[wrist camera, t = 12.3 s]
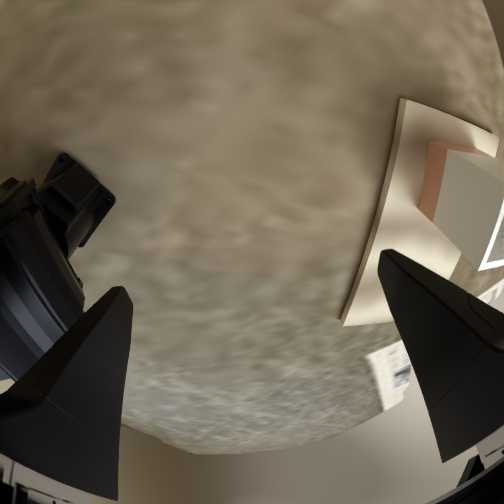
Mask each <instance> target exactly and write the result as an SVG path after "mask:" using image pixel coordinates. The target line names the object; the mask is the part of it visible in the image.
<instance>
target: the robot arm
mask: <svg viewBox="0 0 504 504" xmlns="http://www.w3.org/2000/svg"><path fill="white" fill-rule="evenodd" d="M61 158H63V159H64V162H63V161H62V159H61ZM35 186H36V184H35V181H34V178H32V179H30V180H28V181H26V180H24V181H22V182H21V181H18V180H16V179H15V178H13V177H11V178H9V179H7V180H6V181H5V182H3V183H2V184H0V381H1V380H6V379H10V378H11V379H12V380H13V381H14V382H15V383H14V384H13V385H12V386H11V387H10V388H9V389H8V390H7V391H5V392H4V393H2V394H0V504H91V500H92V495H96V496H99V497H103V498H106V499H110V500H114V501H118V463H119V450H118V449H119V439H120V425H121V414H122V404H123V395H124V386H125V378H126V371H127V364H128V358H129V351H130V344H131V330H132V317H133V304H132V301H131V299H130V297H129V295H128V293H127V291H126V289H125V288H124V287H123V286H115V287H112V288H111V289H110V290H109V291H108V292H107V293H105V294H104V295H103V296H102V297H101V298H100V299H99V300H98V301H97V302H96V303H95V304H94V305H93V306H92V307H91V308H90V309H89V310H87V311H86V312H85V313H84V311H83V307H84V300H85V296H84V293H83V290H82V288H83V283H82V282H81V280H80V278H78V277H77V275H76V274H75V272H74V270H73V268H72V266H71V264H70V263H69V261H68V260H69V258H70V257H71V255H72V254H73V252H74V251H75V250H76V248H77V247H83V246H84V245H85V244H86V242H87V241H88V239H89V238H90V236H91V235H92V234H93V232H94V231H95V229H96V228H97V227H98V225H99V224H100V222H101V221H102V220H103V218H104V217H105V216H106V214H107V213H108V212H109V210H110V209H111V208H112V206H113V205H114V204H115V202H116V199H115V197H114V195H112V194H111V193H110V192H109V191H108V190H107V189H105V188H104V187H103V186H102V185H101V184H100V183H99V181H98V180H97V179H96V178H94V177H93V176H92V175H91V174H90V173H89V172H88V171H87V170H85V169H84V168H83V167H82V166H81V165H80V164H77V163H76V162H75V161H74V160H73V159H72V158H70V157H69V156H68V155H67V154H66V153H61V154H60V155H58V157H57V158H56V160H55V162H54V164H53V166H52V167H51V169H50V171H49V173H48V175H47V177H46V179H45V181H44V183H43V185H42V186H40V187H39V188H38V189H37V190H36V188H35ZM108 199H110V200H111V202H109V201H108ZM81 242H82V243H81ZM377 273H378V277H379V280H380V283H381V285H382V288H383V291H384V294H385V297H386V301H387V304H388V307H389V309H390V312H391V315H392V317H393V319H394V322H395V324H396V326H397V329H398V331H399V333H400V336H401V338H402V341H403V343H404V345H405V348H406V351H407V353H408V356H409V358H410V361H411V363H412V366H413V369H414V371H415V374H416V377H417V380H418V382H419V385H420V388H421V391H422V394H423V397H424V400H425V403H426V406H427V409H428V412H429V416H430V420H431V423H432V426H433V430H434V434H435V437H436V440H437V445H438V448H439V452H440V456H441V460H442V463H444V462H446V461H448V460H450V459H452V458H454V457H456V456H457V455H459V454H461V453H463V452H465V451H466V450H468V449H470V448H471V447H473V446H475V445H476V446H477V450H478V452H479V454H477V455H476V456H474V457H473V458H471V459H469V460H468V463H467V465H466V467H465V470H464V472H463V474H462V477H461V479H460V481H459V483H458V485H457V487H456V488H455V489H453V490H451V491H450V492H448V493H446V494H444V495H442V496H440V497H439V498H436V499H434V500H432V501H430V502H428V503H426V504H504V313H502V312H500V311H498V310H497V309H495V308H493V307H491V306H490V305H488V304H486V303H485V302H483V301H481V300H480V299H478V298H476V297H475V296H473V295H472V294H470V293H467V291H465V290H464V289H462V288H460V287H459V286H457V285H455V284H454V283H452V282H450V281H449V280H447V279H445V278H444V277H442V276H440V275H439V274H437V273H435V272H433V271H432V270H430V269H428V268H426V267H425V266H423V265H421V264H419V263H418V262H416V261H414V260H412V259H410V258H409V257H407V256H405V255H403V254H401V253H399V252H398V251H396V250H394V249H384V250H382V251H381V252H380V256H379V262H378V268H377Z"/></svg>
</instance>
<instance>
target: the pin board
mask: <svg viewBox="0 0 504 504" xmlns="http://www.w3.org/2000/svg"><path fill="white" fill-rule="evenodd" d="M429 140H431V141H438V142H445V143H451V144H457V145H463V146H469V147H474V148H477V149H479V150H481V151H483V152H485V153H487V154H488V155H490V156H492V157H494V158H495V155H496V151H497V146H498V142H499V138H498V137H497V136H495V135H493V134H491V133H489V132H487V131H485V130H483V129H481V128H479V127H476V126H474V125H472V124H470V123H468V122H466V121H463V120H461V119H459V118H456V117H454V116H451V115H449V114H447V113H444V112H441V111H439V110H436V109H433V108H431V107H428V106H425V105H422V104H419V103H416V102H413V101H410V100H407V99H403V98H400V102H399V109H398V115H397V121H396V127H395V132H394V138H393V143H392V148H391V153H390V158H389V163H388V167H387V171H386V176H385V180H384V184H383V188H382V192H381V196H380V200H379V204H378V208H377V211H376V215H375V219H374V222H373V226H372V229H371V233H370V236H369V239H368V243H367V246H366V249H365V252H364V255H363V258H362V261H361V264H360V267H359V270H358V273H357V276H356V279H355V282H354V285H353V288H352V290H351V293H350V296H349V299H348V301H347V304H346V307H345V309H344V312H343V314H342V317H341V319H340V320H341V323H342V326H352V325H362V324H372V323H381V322H389V321H394V319H393V317H392V315H391V312H390V309H389V307H388V304H387V301H386V297H385V294H384V291H383V288H382V285H381V283H380V280H379V277H378V273H377V268H378V262H379V256H380V252H381V251H382V250H384V249H394V250H396V251H398V252H399V253H401V254H403V255H405V256H407V257H409V258H410V259H412V260H414V261H416V262H418V263H419V264H421V265H423V266H425V267H426V268H428V269H430V270H432V271H433V272H435V273H437V274H439V275H440V276H442V277H444V278H445V279H447V280H449V278H450V276H451V274H452V272H453V270H454V268H455V265H456V263H457V261H458V259H459V257H460V255H461V253H462V252H461V251H460V250H459V249H458V248H457V247H456V246H455V245H454V244H453V243H452V242H451V241H450V240H449V239H448V238H447V237H446V236H445V235H444V234H443V233H442V232H441V231H440V230H439V229H438V228H437V227H436V226H435V225H434V224H433V223H432V222H431V221H430V220H429V219H428V218H427V217H426V216H425V215H424V214H423V213H422V212H420V211H419V210H418V205H419V200H420V195H421V190H422V185H423V179H424V173H425V167H426V160H427V153H428V146H429Z"/></svg>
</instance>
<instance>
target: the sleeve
mask: <svg viewBox="0 0 504 504" xmlns="http://www.w3.org/2000/svg"><path fill="white" fill-rule="evenodd" d="M418 210H419V211H420V212H422V213H423V214H424V215H425V216H426V217H427V218H428V219H429V220H430V221H431V222H432V223H433V224H434V225H435V226H436V227H437V228H438V229H439V230H440V231H441V232H442V233H443V234H444V235H445V236H446V237H447V238H448V239H449V240H450V241H451V242H452V243H453V244H454V245H455V246H456V247H457V248H458V249H459V250H460V251H461V252H462V254H463V255H464V256H465V257H466V258H467V259H468V260H469V261H470V262H471V264H472V265H473V266H474V267H475V268H476V269H477V270H478V271H480V270H485V269H489V268H493V267H498V266H502V265H504V163H503V162H501V161H499V160H498V159H496V158H494V157H492V156H490V155H488V154H487V153H485V152H483V151H481V150H479V149H477V148H474V147H469V146H463V145H457V144H451V143H445V142H438V141H431V140H429V146H428V153H427V160H426V167H425V173H424V179H423V185H422V190H421V195H420V200H419V205H418Z"/></svg>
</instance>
